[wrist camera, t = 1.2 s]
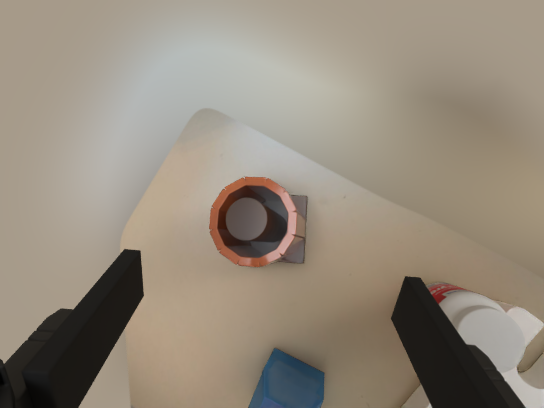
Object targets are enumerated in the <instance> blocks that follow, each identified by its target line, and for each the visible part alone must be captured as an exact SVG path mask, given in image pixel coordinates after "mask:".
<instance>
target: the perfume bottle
mask: <svg viewBox="0 0 544 408" xmlns="http://www.w3.org/2000/svg"><path fill="white" fill-rule="evenodd" d="M323 400H324V373H323V372H321V371H319V370H317V369H316V368H314V367H312V366H310V365H308V364H306V363H304V362H302V361H300V360H298V359H296V358H294V357H292V356H290V355H288V354H286V353H284V352H282V351H280V350H278V349H276V348H274V350H273V352H272V354H271V356H270V358H269V360H268V362H267V364H266V365H265V367H264V370H263V372H262V375H261V377H260V380H259V382H258V385H257V387H256V390H255V392H254V395H253V397H252V400H251V402H250V405H249V407H248V408H321V405H322V402H323Z"/></svg>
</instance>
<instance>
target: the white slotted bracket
mask: <svg viewBox="0 0 544 408" xmlns="http://www.w3.org/2000/svg"><path fill="white" fill-rule="evenodd" d="M495 302H496V303H497V304H498V305H499V306H500V307H501V308H502V309H503V310H504V311H505V312H506V314H507V315H509V316H510V317H511V318H512V319H513V320H514V321H515V322H516V323H517V324H518V325H519V327H520V328H521V330H522V332H523V335H524V338H525V348H526V346H527V345H528V344H529V343H530V342H531V341H532V339H533V338H534V337H535V336H536V335H537V333H538V332H539V331H540V330H541V329H542V328H543V326H544V323H543V322H542V321H540V320H539V319H538V318H536V317H535V316H534V315H532V314H531V313H530V312H528V311H527V310H525V309H523V308H520V307H517V306H514V305H511V304H508V303H505V302H502V301H495ZM501 375H502V376H503V377H504V380H505V381H507V383H508V384H509V385H510V387H511V388H512V389H513V391H514V392H515V394H516V395H517V396H518V398H519V399H520V400H521V402H522V403H523V404H524V406H525V407H526V408H544V352H543V354H542V355H541V356H540V357H539V358H538V360H537V361H536V362H535V363H534V364H533V365H532V367H531V368H530V369H528V370H527V371H525V372H521V373H518V371H517V366H516V367H514V368H513V369H511V370H509V371H507V372H504V373H501ZM401 408H432V406H431V404H430V402H429V400H428V398H427V396H426V393H425V391H424V389H423V387H422V385H421V384H420V386H419V387H418V388H417V389H416V390H415V391H414V393H413V394H412V395H411V396H410V397H409V399H408V400H407V401H406V402H405V403H404V405H403V406H402V407H401Z"/></svg>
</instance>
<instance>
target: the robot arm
mask: <svg viewBox="0 0 544 408" xmlns="http://www.w3.org/2000/svg"><path fill="white" fill-rule="evenodd" d="M143 296H144V292H143V279H142V265H141V252H140V251H139V250H128V249H124V250H123V252H122V253H121V254H120V255H119V256H118V257H117V259H116V260H115V261H114V262H113V264H112V265H111V266H110V267H109V268H108V269H107V270H106V272H105V273H104V274H103V275H102V276H101V278H100V279H99V280H98V281H97V282H96V284H95V285H94V286H93V287H92V288H91V289H90V291H89V292H88V293H87V294H86V295H85V297H84V298H83V299H82V300H81V301H80V302H79V304H78V305H77V306H76V307H75V308H74V310H72V309H60V310H58V311H57V312H55V313H53V314H52V315H50V316H49V317H48V318H46V320H44V321H43V323H42V324H41V325H40V326H39V327H38V328H37V330H36V331H34V332H33V333H32V335H31V336H30V337H29V338H28V340H27V341H25V342H24V343H23V344H22V345H21V346H20V347H19V349H18V350H17V351H16V352H15V353H14V354H13V355H12V356H11V357H10V358H9V359H8V360H7V362H6V363H5V364H4V363H3V361H2V360H1V359H0V408H78V407H79V405H80V404H81V402H82V400H83V399H84V397H85V395H86V393H87V392H88V390H89V388H90V387H91V385H92V383H93V381H94V380H95V378H96V376H97V375H98V373H99V371H100V370H101V368H102V366H103V364H104V363H105V361H106V359H107V358H108V356H109V354H110V352H111V350H112V349H113V347H114V346H115V344H116V342H117V340H118V339H119V337H120V335H121V334H122V332H123V330H124V329H125V327H126V325H127V323H128V322H129V320H130V318H131V317H132V315H133V313H134V311H135V310H136V308H137V306H138V305H139V303H140V301H141V300H142V298H143ZM391 320H392V322H393V324H394V326H395V328H396V331H397V333H398V335H399V337H400V339H401V341H402V344H403V346H404V348H405V350H406V352H407V354H408V357H409V359H410V361H411V363H412V365H413V367H414V370H415V372H416V374H417V376H418V378H419V380H420V383H421V385H422V387H423V389H424V391H425V393H426V396H427V398H428V400H429V402H430V404H431V406H432V408H526V407H525V406H524V404H523V403H522V402H521V400H520V399H519V398H518V396H517V395H516V394H515V392H514V391H513V389H512V388H511V387H510V385H509V384H508V383H507V381H505V380H504V377H503V376H502V375H501V373H500V372H499V371H497V368H496V366H495V365H494V364H493V362H492V361H491V360H490V358H489V357H488V356H487V355H486V354H485V353H484V352H483V351H481V350H480V349H479V348H478V347H477V346H476V345H468V344H466V343H465V342H464V340H463V339H462V337H461V336H460V334H459V333H458V332H457V330H456V329H455V327H454V326H453V324H452V323H451V321H450V320H449V319H448V317H447V316H446V314H445V313H444V311H443V310H442V308H441V307H440V306H439V304H438V303H437V301H436V300H435V298H434V297H433V295H432V294H431V293H430V291H429V290H428V288H427V287H426V285H425V284H424V282H423V281H422V280H421V278H418V277H408V276H405V278H404V281H403V284H402V287H401V290H400V293H399V296H398V299H397V302H396V305H395V308H394V311H393V314H392V317H391Z"/></svg>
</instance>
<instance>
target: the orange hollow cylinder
mask: <svg viewBox="0 0 544 408" xmlns="http://www.w3.org/2000/svg"><path fill="white" fill-rule="evenodd" d="M225 189H226V190H225ZM225 189H223V190H222V191H221V193H220V194H219V196H218V197H217V199H216V200H215V202H214V203H213V205H212V207H213V208H211V214H210V225H209V229H210V230H211V231H210V234H211V236H212V238H213V241H214V243H215V245H216V247H217V250H220V252H219V253H221V254H222V255H223V256H225V257H226V258H228V259H229V260H230V261H232V262H233V263H235V264H236V265H237V264H238V265H239V266H251V267H261V266H262V267H263V266H266V265H269V264H272V263H275V262H278V261H281V260H283V259H285V258H287V257H289V256H291V255H293V254H294V253H295V252H296V251H297V249H298V248H299V246H300V245H301V243H302V242H303V240H304V239H303V238H302V237H305V222H306V221H305V218H304V216H303V214H302V212H301V210H300V208H299V206H298V205H297V203H296V202H295V201H294V199H293V198H292V197H291V195H290V194H289V193H288V192H287V191H286V189H285V188H283V187H281V186H280V185H278V184H277V183H275V182H273V181H272V180H270V179H269V178H267V179H266V178H265V177H245V179H244V178H241V179H239V180H237V181H235V182H233V183H232V184H230V185H228V186H226V187H225ZM242 198H253V199H256V200H257V201H259V202H261V203H264V202H265V201H281V202H282V203H283V204H284V206H285V208H286V210H287V212H288V226H287V234H286V235H285V237H284V238H283V240H282V241H281V243H280V244H279V246H278V247H277V249H276V250H274V251H272V252H270V253H268V254H263V253H261V252H260V251H259V250H257V249H256V248H254V247H253V246H252V245H251V243H250V241H242V240H239V239H237V238H235V237H234V236H232V235H231V233H230V232H229V230H228V229H227V226H226V214H227V211H228V209H229V207H230V206H231V205H232V204H233V203H234V202H235V201H237V200H239V199H242Z"/></svg>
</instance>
